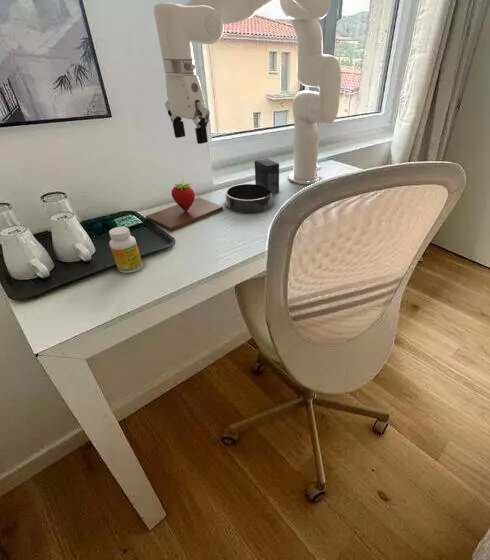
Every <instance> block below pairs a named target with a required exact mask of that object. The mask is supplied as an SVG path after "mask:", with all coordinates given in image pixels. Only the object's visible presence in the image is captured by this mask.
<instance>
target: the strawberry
mask: <svg viewBox="0 0 490 560" xmlns="http://www.w3.org/2000/svg"><path fill="white" fill-rule="evenodd" d="M171 197H172V199H173V201H174V202H175V204H176V205H179V206H180V207H181V208H182V209H183V210H184V211H188V209H189V208H190V207H191V205H192V204H193V202H194V199H195V198H196V194H195V191H194V190H193V188H192V187H191V183H184V181H182V182H181V183H178V184H176V183H175V184H174V186H173V188H172V189H171Z"/></svg>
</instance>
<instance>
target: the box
mask: <svg viewBox="0 0 490 560" xmlns="http://www.w3.org/2000/svg"><path fill="white" fill-rule="evenodd" d="M254 184H258V185H263V186H266V187H268V188H269V189H270V190H271V192H272V195H273V194H276V193H279V192H280V163H279V162H276V161H273V160H272V159H269V158H262V159H255V160H254Z"/></svg>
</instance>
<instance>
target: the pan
mask: <svg viewBox="0 0 490 560" xmlns="http://www.w3.org/2000/svg"><path fill="white" fill-rule="evenodd" d="M272 195H273V194H272V192H271V190H270V189H269V188H268V187H266V186H263V185H258V184H255V183H240V184H239V183H238V184H234V185H231V186H230V187H228V188H226V190H225V191H224V196H225V205H226V208H227V209H228V210H229V211H231V212H233V213H238V214H245V215H246V214H247V215H251V214H259V213H263V212H266V211H268V210H269V209H271V207H272V204H273V202H272V201H273V200H272V197H273V196H272Z"/></svg>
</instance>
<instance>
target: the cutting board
mask: <svg viewBox="0 0 490 560" xmlns="http://www.w3.org/2000/svg"><path fill="white" fill-rule="evenodd" d="M221 211H224V206H222V205H220V204H218V203H215V202H212V201H211V200H208V199H204V198H203V197H200V196H198V197H195V199H194V202H193V204H192V205H191V207H190V208H189V209H188V211H184V210H183V209H182V208H181V207H180V206H179V205H178V204H175V205H172V206H170V207H166V208H163V209H161V210H158V211H155V212H151V213H149V214H146V215H145V219H146V220H147V221H148V222H151V223H153V224H155V225H157V226H159V227H161V228H163V229H165V230H167V231H168V232H173V231H176V230H179V229H180V228H183V227H186V226H188V225H190V224H193V223H195V222H198V221H200V220H203V219H205V218H207V217H210V216H212V215H215V214H217V213H219V212H221Z"/></svg>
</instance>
